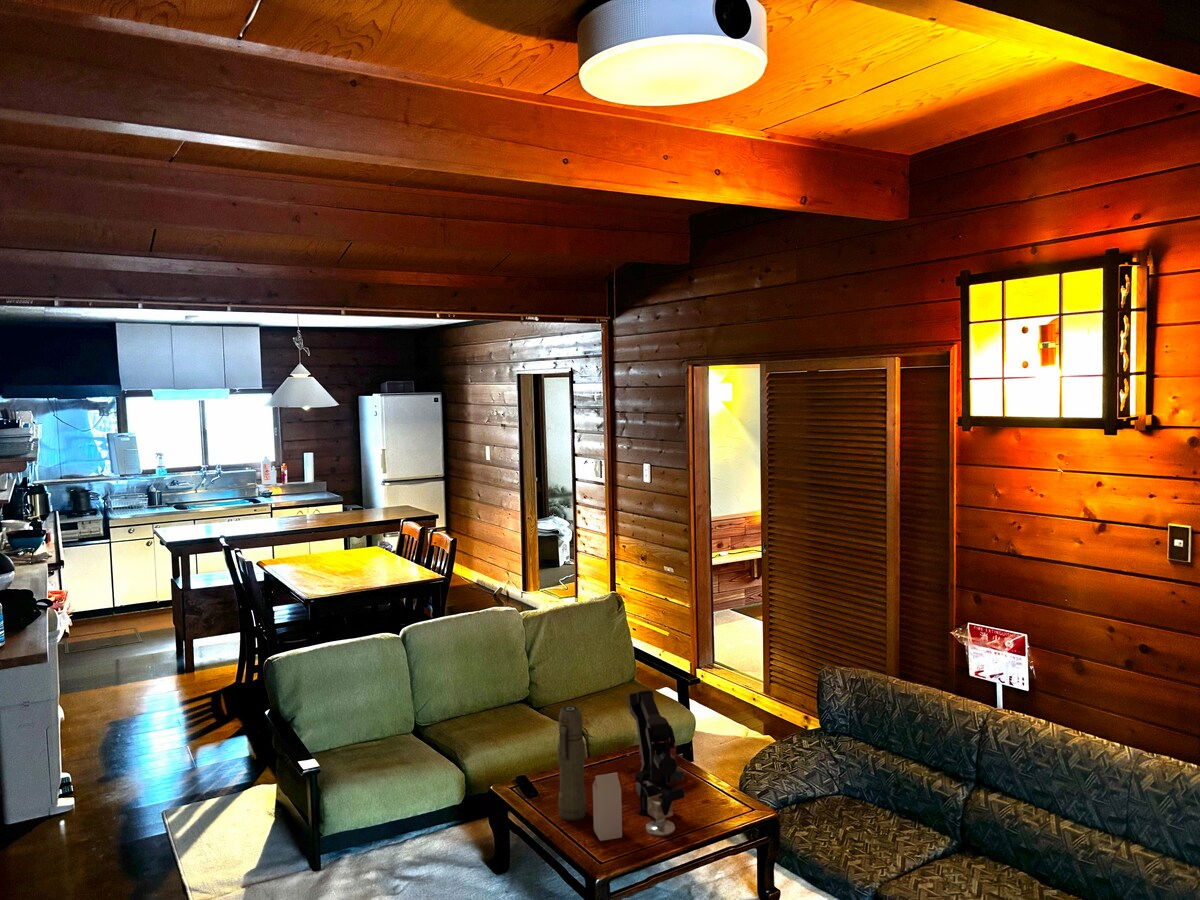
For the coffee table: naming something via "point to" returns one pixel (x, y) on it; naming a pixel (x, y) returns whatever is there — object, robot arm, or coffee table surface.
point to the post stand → (660, 827)
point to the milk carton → (607, 807)
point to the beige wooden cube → (657, 808)
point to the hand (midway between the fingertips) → (660, 811)
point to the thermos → (571, 764)
